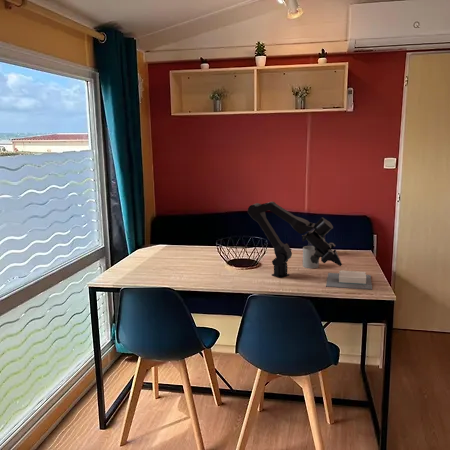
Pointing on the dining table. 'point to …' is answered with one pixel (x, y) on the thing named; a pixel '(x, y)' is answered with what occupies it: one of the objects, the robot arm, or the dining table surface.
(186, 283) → the dining table surface
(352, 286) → the mat
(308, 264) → the cup
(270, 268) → the dining table surface
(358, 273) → the cream flat block
